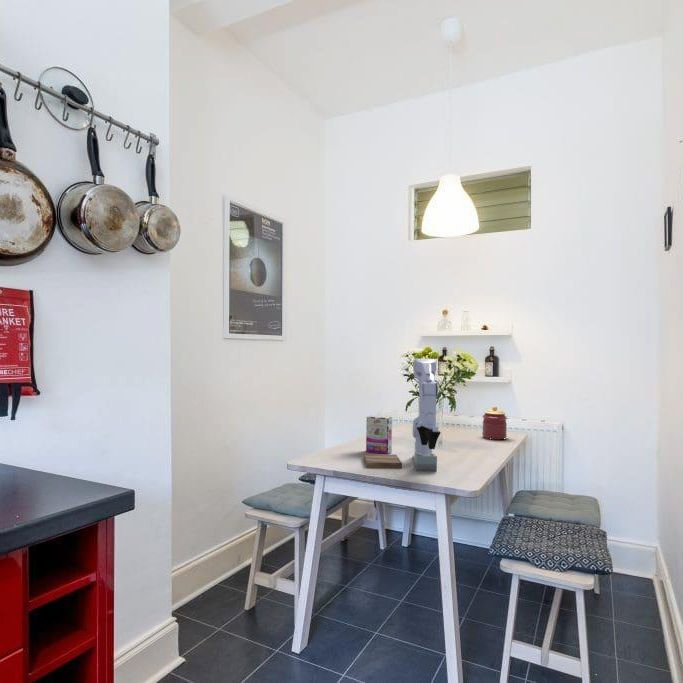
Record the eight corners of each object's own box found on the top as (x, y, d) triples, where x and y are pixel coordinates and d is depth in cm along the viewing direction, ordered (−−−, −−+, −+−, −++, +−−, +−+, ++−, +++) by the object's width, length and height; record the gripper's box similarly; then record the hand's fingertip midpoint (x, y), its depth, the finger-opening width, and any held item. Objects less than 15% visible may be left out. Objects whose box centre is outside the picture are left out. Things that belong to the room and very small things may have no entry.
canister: (479, 435, 276) (480, 404, 277) (502, 436, 276) (503, 405, 276) (485, 439, 264) (486, 407, 264) (509, 440, 263) (510, 408, 263)
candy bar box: (392, 452, 225) (392, 417, 225) (387, 454, 221) (388, 418, 221) (369, 449, 230) (370, 415, 230) (365, 451, 226) (366, 416, 226)
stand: (363, 458, 211) (364, 454, 211) (396, 459, 212) (396, 454, 212) (367, 467, 195) (367, 462, 195) (402, 468, 196) (402, 463, 196)
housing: (414, 468, 196) (414, 451, 196) (433, 468, 197) (434, 452, 197) (416, 471, 191) (416, 454, 191) (436, 471, 192) (436, 454, 192)
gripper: (412, 410, 199) (411, 443, 199) (426, 415, 185) (425, 451, 185) (428, 410, 200) (428, 443, 200) (443, 415, 186) (442, 450, 186)
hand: (428, 446), depth 192 cm, fingers open, 7 cm apart
